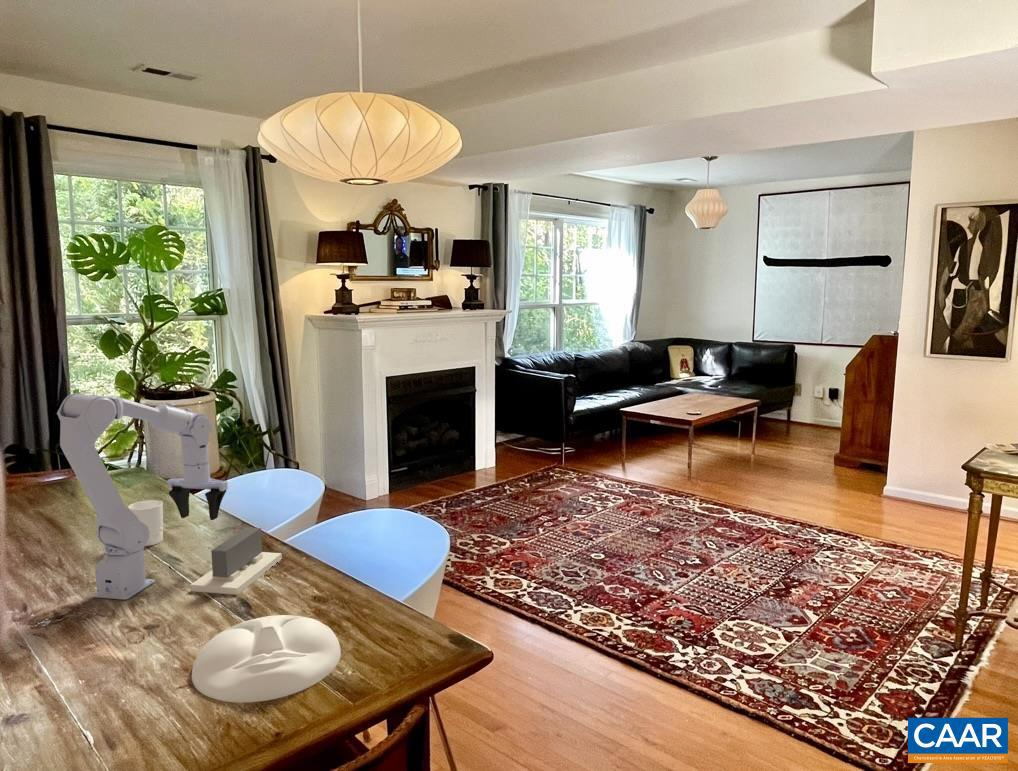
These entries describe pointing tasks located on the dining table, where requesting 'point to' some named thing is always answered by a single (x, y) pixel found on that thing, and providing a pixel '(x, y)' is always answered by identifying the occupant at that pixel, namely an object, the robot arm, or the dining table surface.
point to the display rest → (237, 576)
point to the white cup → (150, 518)
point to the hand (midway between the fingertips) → (199, 517)
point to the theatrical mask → (266, 659)
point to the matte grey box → (236, 552)
